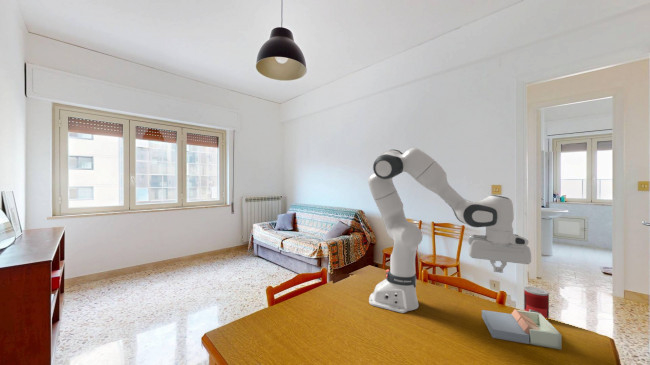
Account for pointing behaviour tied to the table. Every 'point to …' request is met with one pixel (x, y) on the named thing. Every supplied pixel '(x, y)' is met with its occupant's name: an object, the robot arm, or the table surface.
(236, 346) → the table surface
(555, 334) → the bin
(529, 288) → the canned food
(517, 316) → the tile
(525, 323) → the tile
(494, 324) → the shallow grey tray
